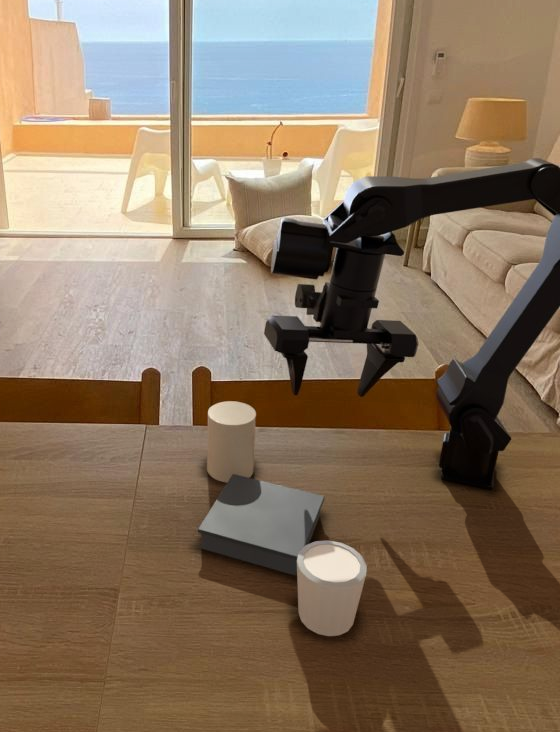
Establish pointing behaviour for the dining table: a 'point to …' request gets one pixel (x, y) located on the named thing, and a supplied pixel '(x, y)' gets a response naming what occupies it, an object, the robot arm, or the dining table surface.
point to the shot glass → (329, 586)
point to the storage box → (261, 523)
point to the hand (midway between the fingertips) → (327, 394)
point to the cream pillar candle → (230, 440)
